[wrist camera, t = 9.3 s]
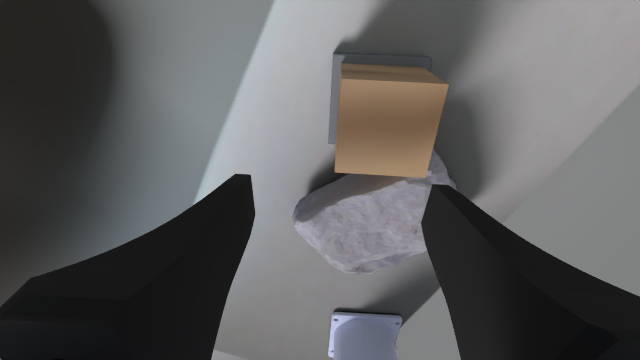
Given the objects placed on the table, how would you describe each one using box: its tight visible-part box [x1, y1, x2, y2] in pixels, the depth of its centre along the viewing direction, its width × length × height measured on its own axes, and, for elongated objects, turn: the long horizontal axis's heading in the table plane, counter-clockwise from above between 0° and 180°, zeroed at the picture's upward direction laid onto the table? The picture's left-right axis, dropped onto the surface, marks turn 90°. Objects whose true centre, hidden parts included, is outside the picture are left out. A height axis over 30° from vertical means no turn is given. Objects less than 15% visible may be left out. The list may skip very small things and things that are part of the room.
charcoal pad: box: [328, 53, 432, 144], centre depth 20 cm, size 6×6×1 cm
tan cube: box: [335, 63, 449, 178], centre depth 17 cm, size 5×5×5 cm
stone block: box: [292, 148, 457, 274], centre depth 23 cm, size 12×5×10 cm
